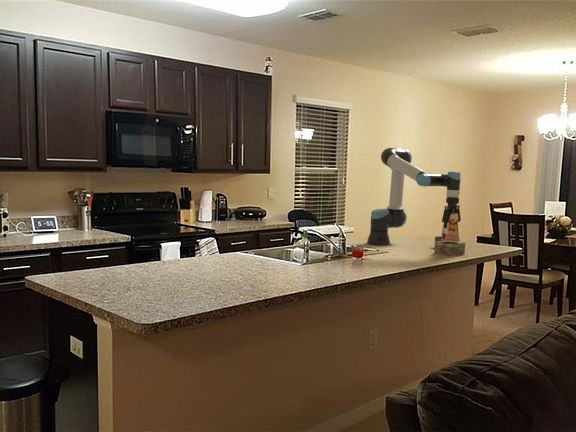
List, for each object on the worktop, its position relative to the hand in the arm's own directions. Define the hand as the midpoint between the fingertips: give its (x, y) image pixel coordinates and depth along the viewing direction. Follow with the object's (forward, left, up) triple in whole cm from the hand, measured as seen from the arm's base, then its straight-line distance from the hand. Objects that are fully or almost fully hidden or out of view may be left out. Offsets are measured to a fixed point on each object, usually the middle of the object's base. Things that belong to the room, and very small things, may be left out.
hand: (450, 232), depth 323 cm
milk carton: (0, 0, -5) cm, 5 cm away
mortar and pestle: (-15, +18, -13) cm, 27 cm away
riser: (0, 0, -13) cm, 13 cm away
